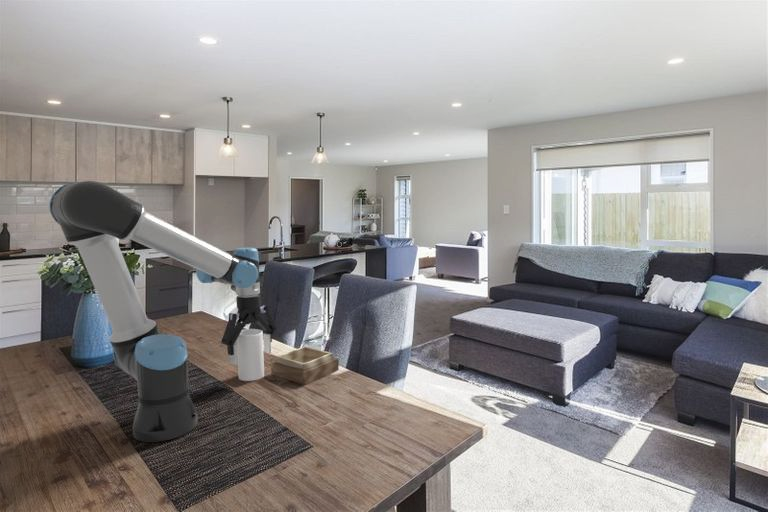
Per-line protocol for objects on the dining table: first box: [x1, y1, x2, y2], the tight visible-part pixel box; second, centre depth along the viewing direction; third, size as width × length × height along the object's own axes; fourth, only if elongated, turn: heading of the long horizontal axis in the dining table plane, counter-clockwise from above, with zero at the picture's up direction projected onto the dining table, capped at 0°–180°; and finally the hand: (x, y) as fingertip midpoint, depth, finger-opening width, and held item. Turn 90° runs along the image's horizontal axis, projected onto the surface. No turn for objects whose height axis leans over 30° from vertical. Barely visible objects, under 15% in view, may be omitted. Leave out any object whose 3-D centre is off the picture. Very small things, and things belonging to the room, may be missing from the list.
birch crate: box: [275, 345, 334, 371], centre depth 152 cm, size 13×13×6 cm
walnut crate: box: [270, 356, 340, 386], centre depth 152 cm, size 16×16×5 cm
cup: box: [236, 328, 265, 382], centre depth 148 cm, size 8×8×16 cm
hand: (251, 358), depth 148 cm, fingers open, 13 cm apart
